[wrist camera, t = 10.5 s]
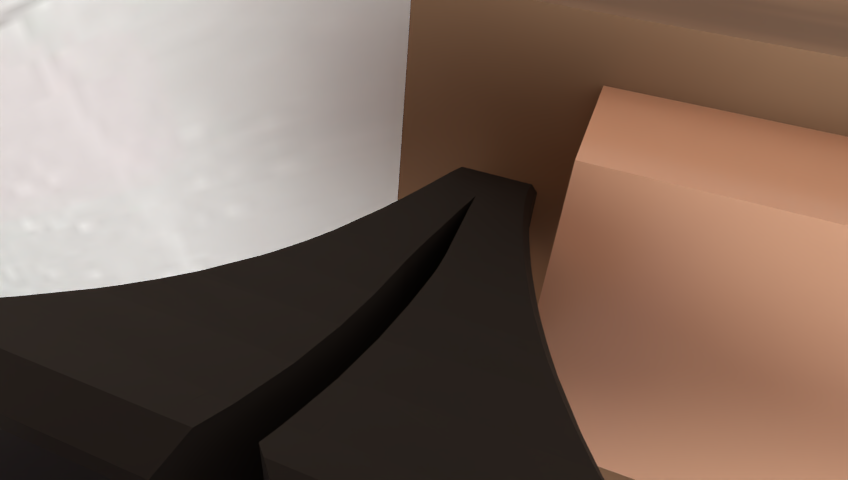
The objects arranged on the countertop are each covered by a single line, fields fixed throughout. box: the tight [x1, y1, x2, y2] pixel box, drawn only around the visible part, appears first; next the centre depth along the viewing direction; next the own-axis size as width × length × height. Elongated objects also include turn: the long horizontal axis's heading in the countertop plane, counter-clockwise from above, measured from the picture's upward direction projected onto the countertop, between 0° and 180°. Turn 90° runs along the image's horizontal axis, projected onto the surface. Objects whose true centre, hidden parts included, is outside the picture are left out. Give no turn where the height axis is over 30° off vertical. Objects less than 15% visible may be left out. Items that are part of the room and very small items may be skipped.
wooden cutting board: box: [398, 0, 848, 480], centre depth 14 cm, size 17×12×4 cm
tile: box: [538, 86, 848, 480], centre depth 9 cm, size 5×5×2 cm
